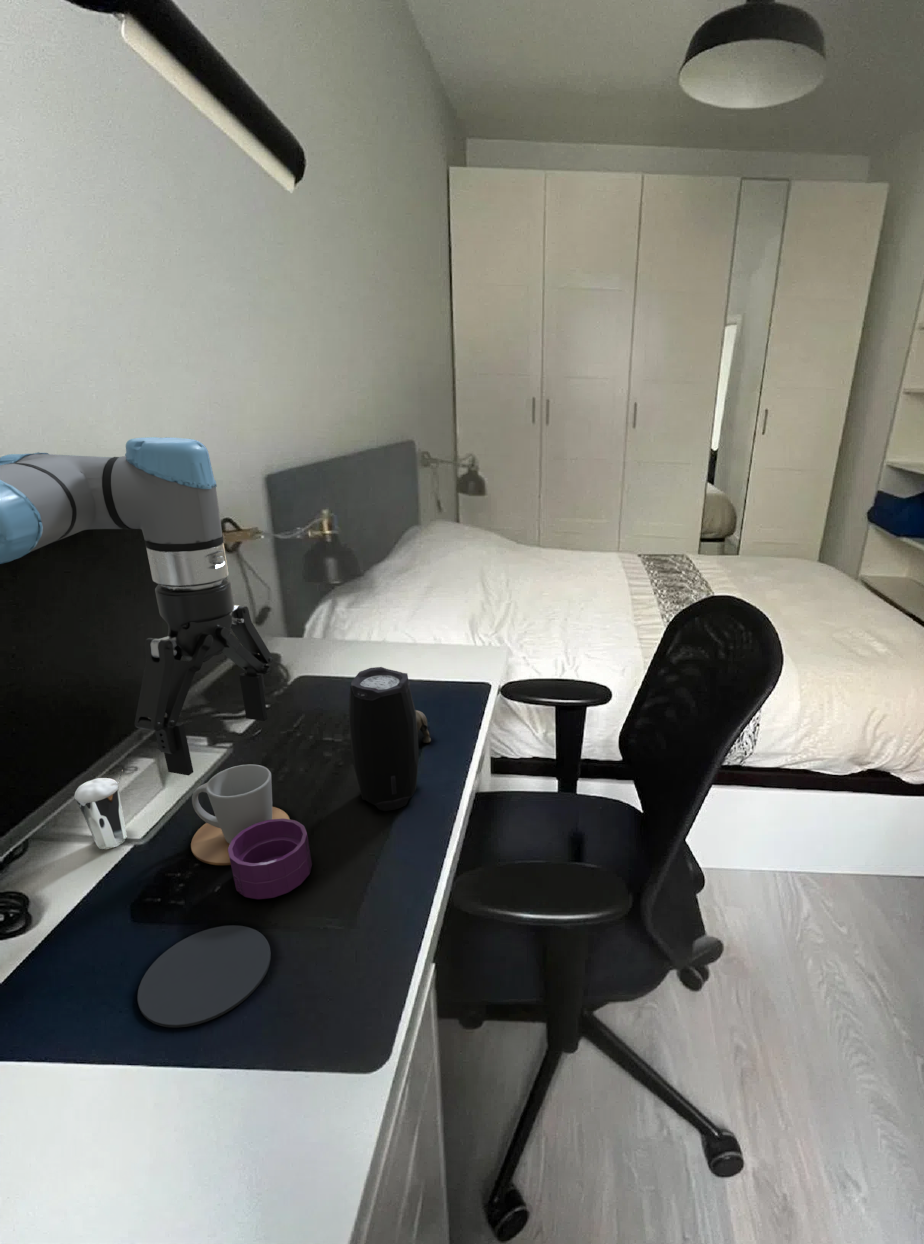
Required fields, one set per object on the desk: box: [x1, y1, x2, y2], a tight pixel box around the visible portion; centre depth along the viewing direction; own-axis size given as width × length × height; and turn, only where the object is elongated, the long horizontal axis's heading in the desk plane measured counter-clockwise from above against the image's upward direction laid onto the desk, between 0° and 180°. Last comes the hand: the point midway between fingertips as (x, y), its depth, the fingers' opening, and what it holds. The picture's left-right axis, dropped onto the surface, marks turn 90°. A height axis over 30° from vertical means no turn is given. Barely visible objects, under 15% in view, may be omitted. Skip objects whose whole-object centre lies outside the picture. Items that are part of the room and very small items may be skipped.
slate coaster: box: [136, 924, 272, 1029], centre depth 65 cm, size 12×12×1 cm
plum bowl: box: [228, 818, 313, 900], centre depth 77 cm, size 9×9×6 cm
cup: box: [191, 764, 273, 844], centre depth 83 cm, size 8×10×8 cm
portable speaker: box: [348, 666, 420, 812], centre depth 90 cm, size 9×9×20 cm
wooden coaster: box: [190, 806, 290, 866], centre depth 85 cm, size 12×12×1 cm
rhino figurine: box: [415, 709, 432, 744], centre depth 110 cm, size 4×14×6 cm, turn 63°
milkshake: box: [74, 769, 128, 850], centre depth 81 cm, size 4×5×10 cm
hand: (222, 743), depth 79 cm, fingers open, 13 cm apart
